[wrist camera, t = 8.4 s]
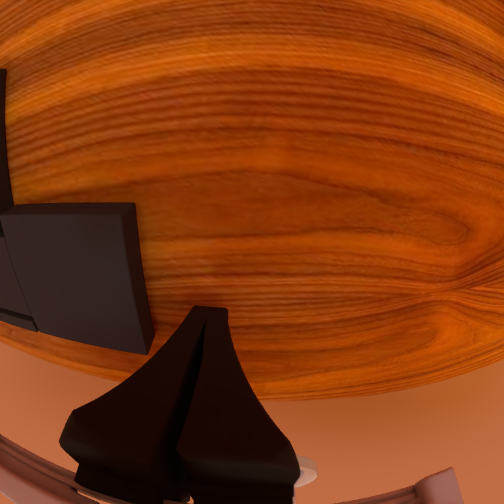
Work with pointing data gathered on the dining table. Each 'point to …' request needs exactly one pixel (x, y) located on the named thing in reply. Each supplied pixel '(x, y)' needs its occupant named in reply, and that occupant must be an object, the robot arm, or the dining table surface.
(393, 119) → the dining table surface
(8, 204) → the big pad
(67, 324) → the small pad
